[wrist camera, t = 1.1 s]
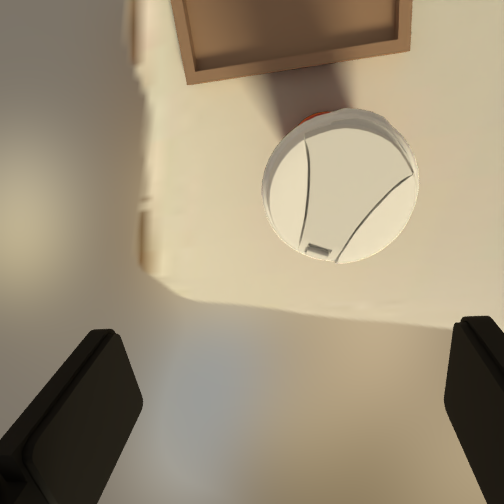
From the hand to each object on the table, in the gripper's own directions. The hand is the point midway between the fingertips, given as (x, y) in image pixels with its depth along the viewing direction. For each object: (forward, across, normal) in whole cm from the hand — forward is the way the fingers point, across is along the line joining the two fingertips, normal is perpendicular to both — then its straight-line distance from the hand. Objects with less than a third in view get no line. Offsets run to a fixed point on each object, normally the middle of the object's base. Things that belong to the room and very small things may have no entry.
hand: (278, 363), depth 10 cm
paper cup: (+23, -3, -2) cm, 23 cm away
